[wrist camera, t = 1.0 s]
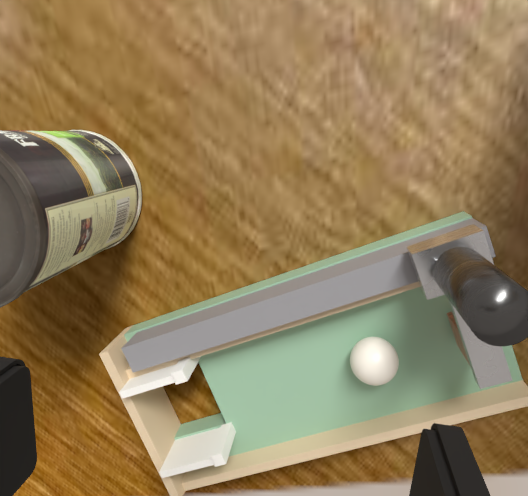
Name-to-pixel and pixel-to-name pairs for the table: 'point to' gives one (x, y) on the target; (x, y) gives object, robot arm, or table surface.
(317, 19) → the table surface
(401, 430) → the pitch
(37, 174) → the coffee can
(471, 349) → the black handled slider
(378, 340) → the ball
